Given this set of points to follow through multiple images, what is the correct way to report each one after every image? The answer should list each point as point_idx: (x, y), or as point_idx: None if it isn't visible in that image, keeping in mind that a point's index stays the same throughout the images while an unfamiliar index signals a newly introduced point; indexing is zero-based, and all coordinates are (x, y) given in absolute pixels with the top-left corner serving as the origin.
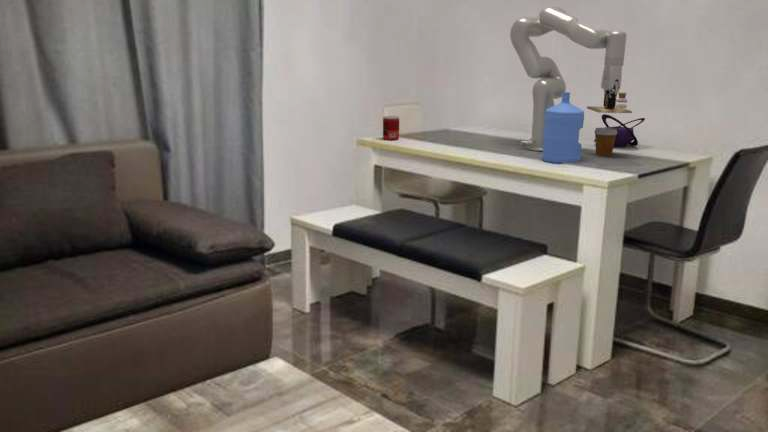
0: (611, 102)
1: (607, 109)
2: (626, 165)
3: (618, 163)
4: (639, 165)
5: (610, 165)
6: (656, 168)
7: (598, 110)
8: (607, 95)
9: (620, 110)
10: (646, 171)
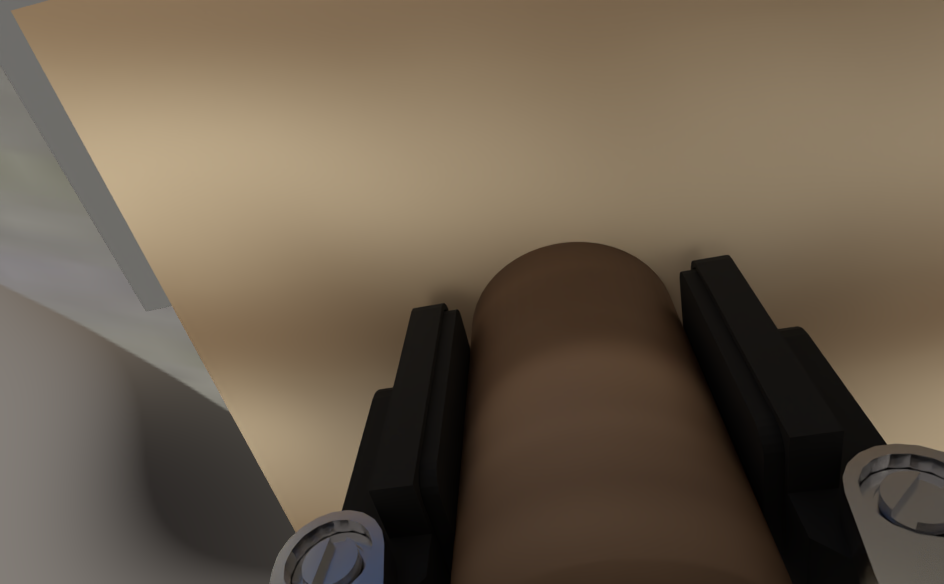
0: (372, 453)
1: (400, 275)
2: (77, 189)
3: None
4: (128, 279)
5: (5, 56)
6: (175, 368)
7: (39, 3)
8: (516, 540)
9: (338, 475)
10: (26, 291)
